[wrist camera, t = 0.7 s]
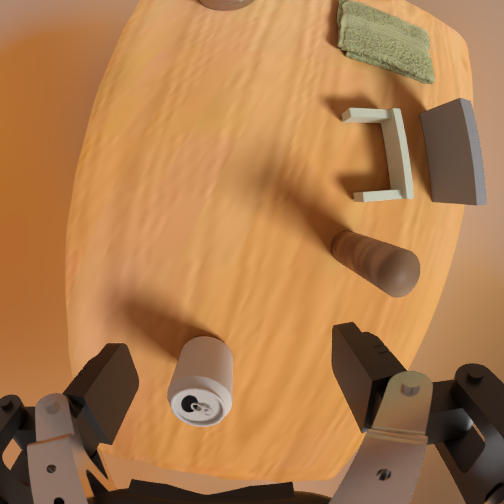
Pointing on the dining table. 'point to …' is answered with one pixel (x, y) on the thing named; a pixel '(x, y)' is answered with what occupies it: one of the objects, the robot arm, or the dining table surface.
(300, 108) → the dining table surface
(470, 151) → the wall
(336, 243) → the dowel
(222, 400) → the can
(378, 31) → the washcloth
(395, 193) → the bracket
